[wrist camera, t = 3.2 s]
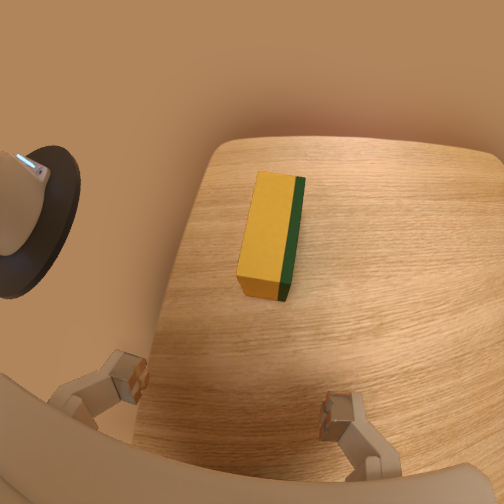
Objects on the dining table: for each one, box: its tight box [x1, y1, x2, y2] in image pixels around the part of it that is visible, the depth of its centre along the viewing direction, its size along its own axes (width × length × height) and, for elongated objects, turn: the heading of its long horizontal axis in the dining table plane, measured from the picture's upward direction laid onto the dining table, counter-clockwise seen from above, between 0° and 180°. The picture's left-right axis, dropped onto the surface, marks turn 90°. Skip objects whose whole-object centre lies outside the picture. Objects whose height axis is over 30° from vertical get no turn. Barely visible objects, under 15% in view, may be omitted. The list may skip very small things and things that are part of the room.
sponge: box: [236, 171, 306, 302], centre depth 25 cm, size 4×9×8 cm, turn 169°
